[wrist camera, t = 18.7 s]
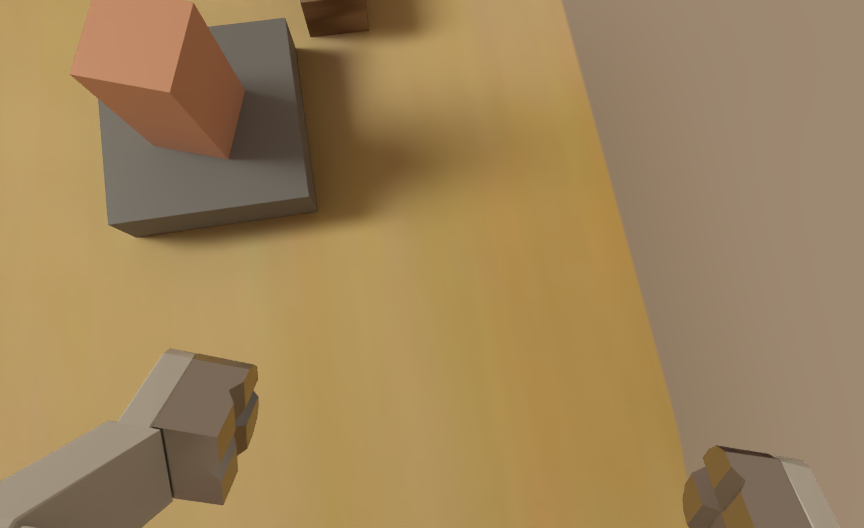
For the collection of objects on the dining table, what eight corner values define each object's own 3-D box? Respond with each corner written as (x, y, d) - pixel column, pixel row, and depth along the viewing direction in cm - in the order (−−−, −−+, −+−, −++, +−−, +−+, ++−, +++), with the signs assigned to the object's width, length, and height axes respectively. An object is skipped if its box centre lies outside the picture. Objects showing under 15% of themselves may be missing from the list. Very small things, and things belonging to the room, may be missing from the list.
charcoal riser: (135, 237, 42) (108, 224, 38) (121, 69, 44) (93, 40, 40) (317, 211, 43) (308, 196, 39) (295, 47, 45) (285, 17, 41)
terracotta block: (228, 159, 39) (169, 92, 29) (153, 146, 39) (69, 74, 29) (245, 90, 40) (193, 2, 30) (172, 77, 40) (96, -16, 30)
